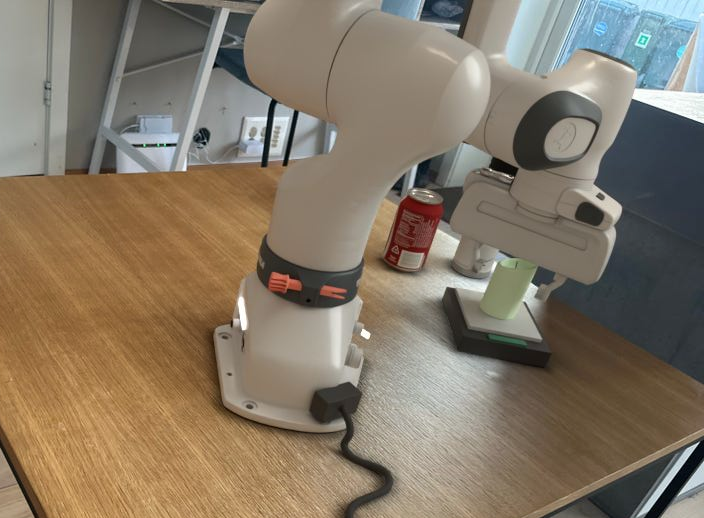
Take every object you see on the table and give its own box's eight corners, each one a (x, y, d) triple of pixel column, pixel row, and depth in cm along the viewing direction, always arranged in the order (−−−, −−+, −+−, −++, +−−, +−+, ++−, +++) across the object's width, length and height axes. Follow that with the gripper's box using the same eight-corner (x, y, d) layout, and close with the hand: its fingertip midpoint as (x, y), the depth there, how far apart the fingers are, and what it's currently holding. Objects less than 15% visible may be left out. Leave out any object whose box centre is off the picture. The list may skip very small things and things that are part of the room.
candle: (474, 310, 99) (497, 257, 94) (484, 297, 102) (506, 247, 98) (509, 324, 97) (534, 271, 92) (518, 311, 100) (542, 260, 96)
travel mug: (485, 283, 113) (535, 163, 102) (446, 268, 116) (491, 149, 104) (494, 271, 118) (543, 155, 107) (456, 257, 120) (501, 142, 109)
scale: (544, 367, 95) (554, 349, 93) (457, 350, 95) (465, 332, 93) (519, 315, 106) (527, 298, 104) (441, 300, 106) (448, 282, 104)
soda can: (423, 278, 111) (448, 207, 105) (380, 268, 112) (403, 197, 105) (421, 260, 117) (445, 192, 110) (381, 251, 117) (403, 182, 111)
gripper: (464, 165, 91) (428, 261, 98) (627, 223, 82) (574, 323, 90) (479, 158, 95) (444, 250, 103) (635, 212, 87) (584, 308, 95)
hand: (506, 285), depth 96 cm, fingers open, 8 cm apart
